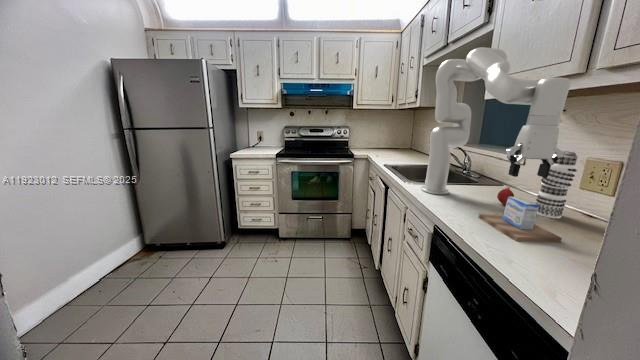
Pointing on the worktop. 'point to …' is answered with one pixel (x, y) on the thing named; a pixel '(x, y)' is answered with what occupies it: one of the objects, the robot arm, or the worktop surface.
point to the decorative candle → (556, 186)
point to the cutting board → (519, 230)
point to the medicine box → (520, 213)
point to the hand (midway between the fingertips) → (527, 176)
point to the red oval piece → (505, 195)
